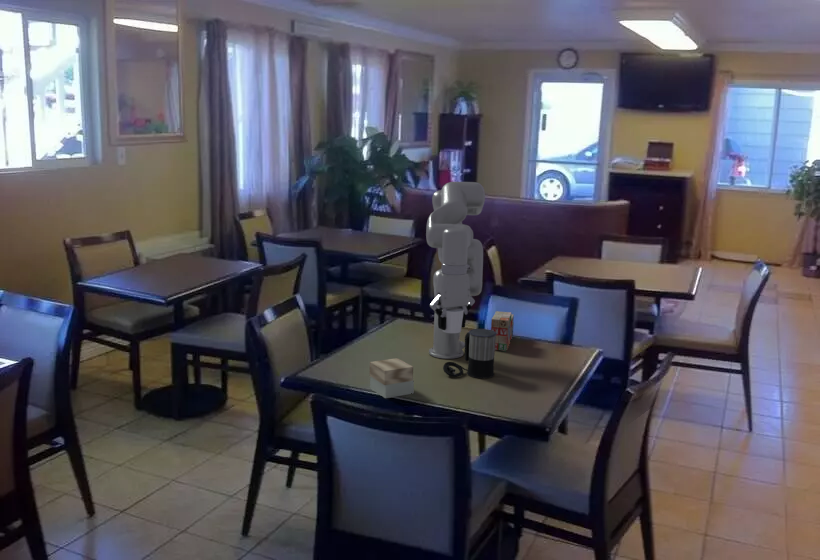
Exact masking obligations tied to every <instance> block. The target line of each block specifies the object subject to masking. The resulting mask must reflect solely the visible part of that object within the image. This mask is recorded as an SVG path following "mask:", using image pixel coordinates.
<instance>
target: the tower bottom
mask: <svg viewBox="0 0 820 560" xmlns="http://www.w3.org/2000/svg"><path fill="white" fill-rule="evenodd" d="M369 377H370V379H369V389H370V390H371V391H372V392H374V393H377V394H378V395H380V396H382V397H383V398H384V399H390V398H395V397H401V396H405V395H406V396H407V395H412V394H414V393H415V392H414V389H415V388H414V387H415V383H414V382H415V380H413V381H408V382H401V383H395V384H389V385H383V384H382V383H380V382H379V381H377V380H375V379H374V378H372V377H371V376H369ZM411 393H412V394H411Z"/></svg>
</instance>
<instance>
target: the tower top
mask: <svg viewBox="0 0 820 560" xmlns="http://www.w3.org/2000/svg"><path fill="white" fill-rule="evenodd" d="M368 374H369V376H368V377H370V376H371V377H372V378H374V379H375V380H377V381H379V382H380V383H382V384H383V385H389V384H395V383H401V382H408V381H414V366H413V365H411V364H409V363H407V362H405V361H404V360H402V359H400V358H398V357H396V358H388V359H383V360H381V359H380V360H375V361H369V373H368Z"/></svg>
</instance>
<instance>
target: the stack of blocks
mask: <svg viewBox="0 0 820 560" xmlns="http://www.w3.org/2000/svg"><path fill="white" fill-rule="evenodd" d="M514 315H515V314H513V313H512V312H510V311H497V310H496V311H495V312H494V315H493V316H492V317H491V327H490V330H492V331H495V332H496V333H497V334H496V339H495V350H505V351H504V352H507V351H508V349H509V347H510V345H509V344H511V342H510V340H511V339H512V340H513V338H512V336H513V337H514V326H515V325H514V324H515V323H514V318H515V317H514ZM512 340H511V341H512ZM508 346H509V347H508ZM507 348H508V349H507ZM506 350H507V351H506Z"/></svg>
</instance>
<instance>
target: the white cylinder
mask: <svg viewBox="0 0 820 560" xmlns="http://www.w3.org/2000/svg"><path fill="white" fill-rule="evenodd" d="M442 310H443V309H442ZM463 312H464V309H463V308H461V307H453V308H448V309H447V311H446V314H445V317H446V329H445V330H443V332H446V333H459V332H460V333H461V332H462V328H463V327H462V320H463Z"/></svg>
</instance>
